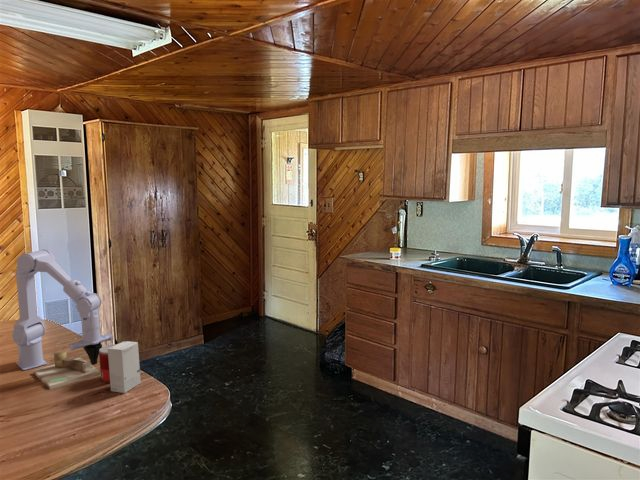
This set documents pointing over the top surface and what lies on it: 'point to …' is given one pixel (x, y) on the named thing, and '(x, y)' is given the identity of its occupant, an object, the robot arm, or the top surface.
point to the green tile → (58, 379)
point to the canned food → (104, 363)
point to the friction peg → (70, 362)
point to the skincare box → (124, 366)
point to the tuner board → (63, 374)
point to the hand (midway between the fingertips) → (93, 363)
